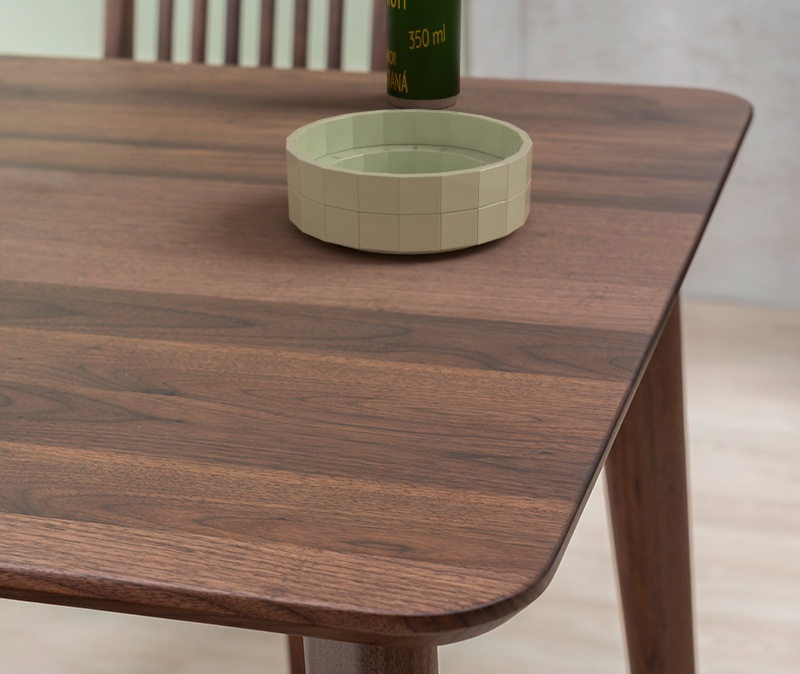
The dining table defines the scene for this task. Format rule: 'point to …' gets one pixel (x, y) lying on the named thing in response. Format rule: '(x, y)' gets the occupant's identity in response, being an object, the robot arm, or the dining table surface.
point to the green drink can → (423, 53)
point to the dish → (409, 180)
